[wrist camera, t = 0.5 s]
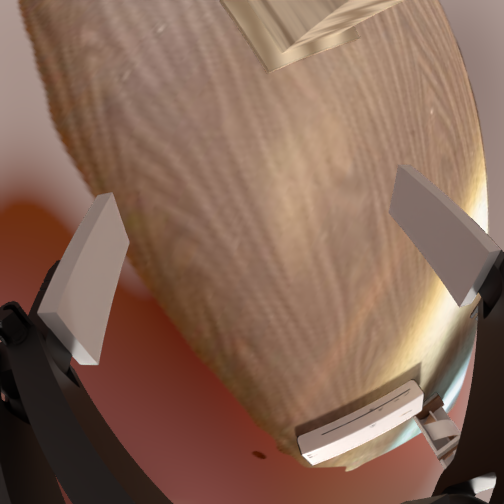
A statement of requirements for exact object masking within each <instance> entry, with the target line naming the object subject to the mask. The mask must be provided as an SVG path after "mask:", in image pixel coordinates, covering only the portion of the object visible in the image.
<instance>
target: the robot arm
mask: <svg viewBox="0 0 504 504" xmlns="http://www.w3.org/2000/svg"><path fill="white" fill-rule="evenodd" d="M389 214H390V215H391V216H392V217H393V218H394V220H395V221H396V222H397V223H398V224H399V226H400V227H401V228H402V229H403V230H404V232H405V233H406V234H407V235H408V237H409V238H410V239H411V240H412V242H413V243H414V244H415V246H416V247H417V248H418V249H419V251H420V252H421V253H422V255H423V256H424V257H425V259H426V260H427V261H428V263H429V264H430V265H431V267H432V268H433V269H434V271H435V272H436V274H437V275H438V276H439V278H440V279H441V281H442V282H443V284H444V285H445V286H446V288H447V289H448V291H449V292H450V294H451V295H452V297H453V298H454V300H455V301H456V303H457V305H458V306H459V308H460V307H462V306H465V305H468V304H471V303H472V302H473V300H474V298H475V297H476V295H477V293H478V292H479V294H480V295H481V297H482V298H481V299H480V301H479V303H478V304H477V306H476V307H475V309H474V310H473V312H472V313H471V316H470V318H473V316H474V315H475V313H478V315H477V317H476V318H475V320H477V321H478V325H477V341H476V352H475V362H474V370H473V377H472V384H471V390H470V395H469V400H468V406H467V410H466V415H465V419H464V424H463V428H462V431H461V435H460V439H459V442H458V446H457V449H456V452H455V455H454V458H453V460H452V461H451V463H450V464H449V465H448V466H447V467H446V469H445V470H444V471H443V473H442V474H441V476H440V478H439V480H438V482H437V485H436V487H435V490H434V492H433V494H432V496H431V497H429V498H424V499H418V500H412V501H406V502H403V503H401V504H504V252H503V251H502V250H501V249H500V248H499V246H498V245H497V244H496V243H495V242H494V241H493V240H492V239H491V238H490V237H489V236H488V234H486V233H485V231H484V230H483V229H482V228H480V226H479V225H478V224H477V223H476V222H475V221H474V220H473V219H472V218H470V217H469V216H468V215H467V214H466V213H465V212H464V211H463V210H462V209H461V208H460V207H459V206H458V205H457V204H456V203H455V202H454V201H453V200H451V199H450V198H449V197H448V196H447V195H446V194H445V193H444V192H443V191H441V190H440V189H439V188H438V187H437V186H436V185H434V184H433V183H432V182H431V181H430V180H429V179H427V178H426V177H425V176H424V175H422V174H421V173H420V172H419V171H418V170H416V169H415V168H414V167H412V166H411V165H398V169H397V174H396V180H395V185H394V190H393V195H392V199H391V204H390V209H389ZM128 245H129V239H128V237H127V234H126V231H125V228H124V225H123V223H122V220H121V217H120V214H119V211H118V208H117V205H116V202H115V198H114V195H113V192H111V193H107V194H102V195H98V196H97V197H96V199H95V200H94V202H93V204H92V205H91V207H90V209H89V210H88V212H87V213H86V215H85V217H84V219H83V220H82V222H81V224H80V225H79V227H78V229H77V231H76V232H75V234H74V236H73V238H72V240H71V242H70V244H69V245H68V247H67V249H66V251H65V253H64V255H63V257H62V259H61V260H58V261H56V263H55V264H54V265H53V266H52V267H51V268H50V269H49V271H48V273H47V275H46V277H45V279H44V283H42V285H41V287H40V291H39V292H38V294H37V296H36V298H35V301H34V303H33V305H32V307H31V310H30V312H29V315H28V316H27V314H26V313H25V312H24V310H23V309H22V308H21V306H20V305H19V304H18V303H17V302H15V301H12V302H8V303H6V304H5V305H3V306H1V307H0V340H1V341H2V342H0V504H66V503H65V501H64V498H63V496H62V493H61V490H60V488H59V485H58V482H57V480H56V477H57V479H58V481H59V482H60V484H61V486H62V488H63V489H64V491H65V492H66V494H67V496H68V497H69V499H70V500H71V502H72V503H73V504H173V503H172V502H171V501H170V500H169V499H168V498H167V497H166V496H165V495H164V494H163V493H162V492H161V490H160V489H159V488H158V487H157V486H156V485H155V484H154V483H153V482H152V481H151V479H150V478H149V477H148V476H147V475H146V474H145V473H144V472H143V470H142V469H141V468H140V467H139V466H138V464H137V463H136V462H135V461H134V459H133V458H132V457H131V456H130V454H129V453H128V452H127V450H126V449H125V448H124V446H123V445H122V444H121V443H120V441H119V440H118V438H117V437H116V436H115V434H114V433H113V431H112V430H111V429H110V427H109V426H108V424H107V423H106V421H105V420H104V418H103V417H102V415H101V414H100V412H99V411H98V409H97V408H96V406H95V405H94V403H93V401H92V399H91V398H90V396H89V395H88V393H87V391H86V390H85V388H84V386H83V384H82V383H81V381H80V379H79V377H78V375H77V374H76V372H75V370H74V369H73V368H72V366H71V365H70V361H71V357H72V356H73V357H74V358H75V359H76V360H77V362H78V363H79V364H82V365H98V364H99V359H100V354H101V349H102V344H103V339H104V334H105V330H106V325H107V321H108V317H109V313H110V309H111V304H112V300H113V296H114V293H115V289H116V286H117V282H118V278H119V275H120V272H121V268H122V265H123V261H124V258H125V255H126V252H127V249H128ZM1 392H2V393H3V394H4V395H5V401H3V400H2V398H1ZM55 475H56V476H55ZM490 488H494V489H493V493H492V496H491V498H490V501H489V503H487V502H484V501H482V500H481V499H479V498H476V497H474V496H475V495H476V494H477V493H479V492H480V491H484V490H487V489H490Z"/></svg>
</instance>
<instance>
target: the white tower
mask: <svg viewBox="0 0 504 504" xmlns="http://www.w3.org/2000/svg"><path fill="white" fill-rule="evenodd" d="M443 405H444V403H443V401H442V400H441V398H440V396H439V395H438V393H437V392H436V393H435V394H434V395H432V396H431V397H430V398H429V399H427V400H426V401H425V402H424V403H423V409H422V411H420V412H419V413H417V414H416V415H414V416H412V417H413V418H414V420H415V422H416V423H417V425H418V426H419V428H420V430H421V431H422V433H423V434H424V436H425V438H426V439H427V441H428V442H429V444H430V446H431V448H432V449H433V451H434V452H435V454H436V456H437V458H438V459H439V461H440V463H441V464H442V466H443V468H444V469H446V467H447V466H448V465H449V464H450V463H451V461H452V460H453V458H454V455H455V452H456V449H457V446H458V442H459V439H460V435H461V432H460V430H459V429H458V427H457V426H456V424H455V423H454V422H453V421H452V420H451V419H450V418H449V416H448V415H447V413H446V412H445V411H444V409H443V408H442V406H443Z"/></svg>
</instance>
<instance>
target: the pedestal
mask: <svg viewBox="0 0 504 504" xmlns="http://www.w3.org/2000/svg"><path fill="white" fill-rule="evenodd" d="M403 1H405V0H220V3H221V4H222V6H223V7H224V8H225V10H226V11H227V13H228V14H229V15H230V17H231V18H232V20H233V21H234V23H235V24H236V26H237V27H238V29H239V30H240V32H241V33H242V35H243V36H244V38H245V39H246V41H247V42H248V44H249V45H250V47H251V49H252V50H253V52H254V53H255V55H256V57H257V58H258V60H259V61H260V63H261V65H262V66H263V68H264V70H265V71H266V73H267V74H269V73H271V72H273V71H275V70H278V69H280V68H282V67H285V66H287V65H289V64H292V63H294V62H297V61H299V60H302V59H304V58H307V57H309V56H312V55H314V54H317V53H320V52H323V51H325V50H328V49H331V48H334V47H337V46H340V45H343V44H346V43H349V42H352V41H356V40H358V39H360V36H359V34H358V32H357V31H356V29H355V27H354V25H356V24H358V23H360V22H362V21H364V20H366V19H367V18H369V17H371V16H373V15H375V14H377V13H379V12H381V11H383V10H385V9H388V8H390V7H392V6H394V5H396V4H398V3H400V2H403Z"/></svg>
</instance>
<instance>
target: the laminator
mask: <svg viewBox="0 0 504 504" xmlns="http://www.w3.org/2000/svg"><path fill="white" fill-rule="evenodd" d="M423 401H424V392H423V390H422V389H421V388H420V386H419V385H418V383H417V382H416V381H415V380H413V379H412V380H410V381H408V382H407V383H405V384H403V385H402V386H400V387H398V388H397V389H395V390H393V391H392V392H390V393H388V394H386V395H385V396H383V397H381V398H379V399H378V400H376V401H374V402H372V403H370V404H368V405H366V406H364V407H362V408H361V409H359V410H357V411H355V412H353V413H351V414H348V415H346V416H344V417H342V418H340V419H338V420H336V421H334V422H331V423H329V424H327V425H325V426H322V427H320V428H318V429H315V430H313V431H310V432H308V433H305V434H303V435H300V436H298V437H297V443H298V446H299V450H300V453H301V455H302V456H303V457H304V458H305V459H306V460H307V461H308V462H309V463H310V464H311V465H315V464H318V463H320V462H323V461H325V460H328V459H330V458H332V457H335V456H337V455H340V454H342V453H344V452H346V451H349V450H351V449H353V448H355V447H357V446H359V445H361V444H363V443H365V442H367V441H369V440H371V439H373V438H375V437H377V436H379V435H381V434H383V433H385V432H387V431H388V430H390V429H392V428H394V427H396V426H397V425H399V424H401V423H402V422H404V421H406V420H407V419H409V418H411V417H412V416H414V415H416V414H417V413H419V412H420V411H422V409H423Z"/></svg>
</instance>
